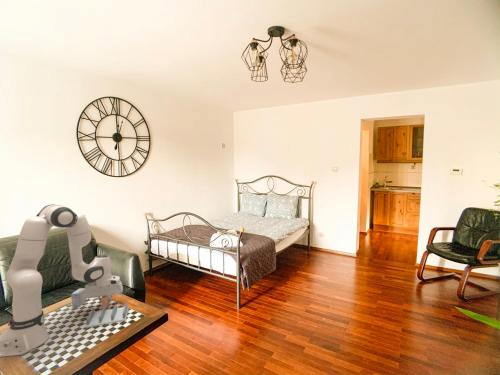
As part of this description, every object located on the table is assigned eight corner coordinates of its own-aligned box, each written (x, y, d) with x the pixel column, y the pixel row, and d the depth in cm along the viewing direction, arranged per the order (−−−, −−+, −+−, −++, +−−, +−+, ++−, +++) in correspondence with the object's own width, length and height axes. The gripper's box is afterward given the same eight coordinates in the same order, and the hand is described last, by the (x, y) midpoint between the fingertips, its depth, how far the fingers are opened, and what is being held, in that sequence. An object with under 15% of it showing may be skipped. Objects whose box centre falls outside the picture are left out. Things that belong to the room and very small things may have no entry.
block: (101, 309, 162) (100, 298, 161) (104, 303, 170) (103, 292, 169) (107, 308, 163) (106, 298, 162) (109, 302, 171) (109, 292, 170)
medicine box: (80, 300, 174) (79, 288, 173) (87, 300, 174) (85, 288, 173) (71, 307, 166) (70, 294, 165) (78, 307, 166) (77, 294, 165)
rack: (85, 328, 145) (84, 321, 144) (92, 314, 158) (91, 307, 158) (125, 320, 151) (125, 313, 150) (129, 307, 164) (128, 301, 164)
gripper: (83, 285, 159) (85, 307, 160) (120, 280, 165) (122, 301, 166) (86, 281, 165) (88, 302, 166) (122, 276, 171) (124, 296, 172)
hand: (105, 302), depth 166 cm, fingers closed on block, 3 cm apart
